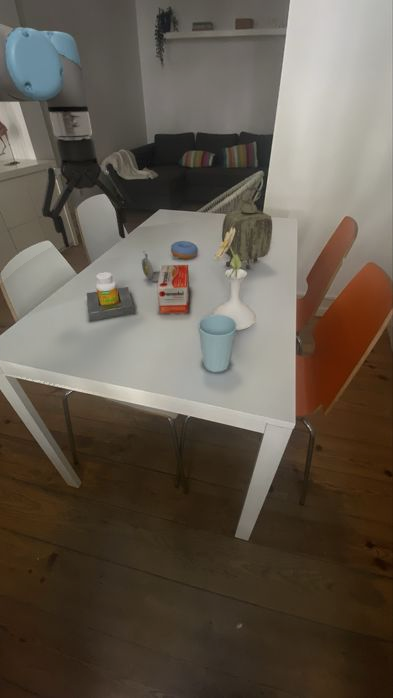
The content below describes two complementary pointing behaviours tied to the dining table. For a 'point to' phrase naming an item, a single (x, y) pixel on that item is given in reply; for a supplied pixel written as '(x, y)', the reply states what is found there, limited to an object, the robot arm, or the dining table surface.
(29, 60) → the robot arm
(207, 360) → the cup
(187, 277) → the medicine box
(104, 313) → the bottle stand
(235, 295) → the flower in vase
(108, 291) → the supplement bottle
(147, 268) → the pocket watch
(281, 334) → the dining table surface
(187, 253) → the doughnut
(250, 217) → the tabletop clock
